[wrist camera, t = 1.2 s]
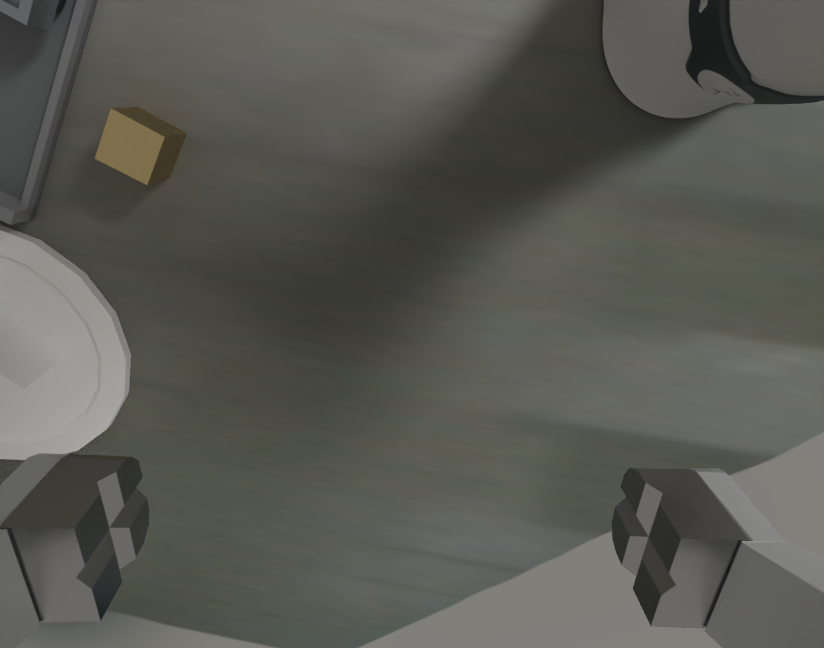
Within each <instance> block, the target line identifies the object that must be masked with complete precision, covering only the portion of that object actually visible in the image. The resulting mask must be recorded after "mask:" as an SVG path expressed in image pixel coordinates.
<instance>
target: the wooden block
mask: <svg viewBox="0 0 824 648" xmlns="http://www.w3.org/2000/svg"><path fill="white" fill-rule="evenodd" d="M185 136H186V133H185V132H183V131H181V130H179V129H178V128H176V127H174V126H172V125H170V124H168V123H166V122H165V121H163V120H161V119H159V118H157V117H155V116H153V115H152V114H150V113H148V112H146V111H144V110H142V109H140V108H139V107H133V108H111V109H110V112H109V115H108V119H107V122H106V125H105V128H104V131H103V134H102V137H101V140H100V144H99V147H98V150H97V153H96V156H95V159H96V160H98V161H100V162H102V163H104V164H106V165H108V166H110V167H112V168H114V169H116V170H118V171H120V172H122V173H124V174H126V175H128V176H130V177H132V178H134V179H136V180H138V181H140V182H142V183H144V184H146V185H149V184H152V183H155V182H158V181H161V180H164V179H167V178H169V177H170V176H171V173H172V171H173V168H174V165H175V163H176V160H177V157H178V155H179V152H180V149H181V147H182V144H183V141H184V139H185Z"/></svg>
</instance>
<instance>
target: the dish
mask: <svg viewBox="0 0 824 648" xmlns="http://www.w3.org/2000/svg"><path fill="white" fill-rule="evenodd" d="M130 363H131V353H130V350H129V347H128V345H127V342H126V339H125V336H124V333H123V330H122V327H121V325H120V322H119V319H118V316H117V313H116V312H115V310H114V309H113V308H112V306H111V305H110V304H109V303H108V301H107V300H106V299H105V297H104V296H103V295H102V294H101V292H100V291H99V290H98V288H97V287H96V286H95V284H94V283H93V282H92V281H91V279H90V278H89V277H88V275H87V274H86V273H85V272H84V271H82V270H81V269H80V268H78V267H77V266H76V265H74V264H73V263H71V262H70V261H69V260H67V259H66V258H65V257H63V256H62V255H61V254H59V253H58V252H56V251H55V250H54V249H52V248H51V247H50V246H48V245H47V244H46V243H44V242H43V241H42V240H40V239H37V238H34V237H32V236H29V235H26V234H24V233H21V232H19V231H16V230H13V229H11V228H8V227H5V226H3V225H0V459H10V460H26V459H27V458H28V457H30V456H33V455H36V454H39V453H47V454H66V453H70V452H74V451H78V450H79V449H81V448H82V447H83V446H85V445H86V444H87V443H89V442H90V441H91V440H93V439H94V438H96V437H97V436H98V435H100V434H101V433H102V432H104V431H105V430H107V429H108V428H109V426H110V425H111V424H112V423H113V421H114V419H115V417H116V415H117V413H118V412H119V410H120V408H121V406H122V404H123V402H124V401H125V399H126V397H127V395H128V393H129V382H130Z"/></svg>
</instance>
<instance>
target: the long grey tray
mask: <svg viewBox="0 0 824 648" xmlns="http://www.w3.org/2000/svg"><path fill="white" fill-rule="evenodd" d="M65 3H66V0H0V11H1V12H3V13H4V14H6V15H8V16H10V17H12V18H14V19H15V20H17V21H19V22H21V23H23V24H25V25H26V26H31V27H36V28H41V29H46V30H51V28H52V24H53V21H54V17H55V13H59V12H60V11H61V10H62V9H63V8H64V6H65Z"/></svg>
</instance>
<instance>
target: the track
mask: <svg viewBox="0 0 824 648" xmlns="http://www.w3.org/2000/svg"><path fill="white" fill-rule="evenodd" d="M96 4H97V0H66V3H65V6H64V8H63V9H62V10H61V11H60V12H59V13H55V17H54V21H53V24H52V28H51V30H46V29H41V28H36V27H31V26H26V25H25V24H23V23H21V22H19V21H17V20H15V19H14V18H12V17H10V16H8V15H6V14H4V13H3V12H1V11H0V220H1V221H3V222H5V223H7V224H9V225H13V224H16V223H19V222H22V223H25V222H28V221H31V220H33V219H34V217H35V213H36V210H37V206H38V203H39V200H40V196H41V193H42V189H43V186H44V182H45V179H46V175H47V172H48V169H49V165H50V162H51V158H52V155H53V151H54V148H55V145H56V141H57V138H58V134H59V131H60V127H61V124H62V120H63V117H64V114H65V110H66V107H67V103H68V100H69V96H70V93H71V90H72V86H73V83H74V79H75V76H76V72H77V69H78V65H79V62H80V59H81V55H82V52H83V48H84V45H85V41H86V38H87V35H88V31H89V28H90V24H91V21H92V17H93V14H94V10H95V7H96Z"/></svg>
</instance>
